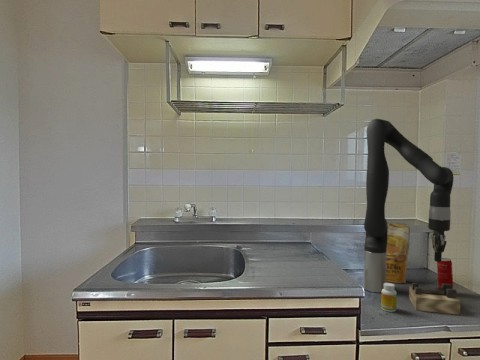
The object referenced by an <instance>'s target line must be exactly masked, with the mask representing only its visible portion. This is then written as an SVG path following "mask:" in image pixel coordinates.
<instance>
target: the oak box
mask: <svg viewBox="0 0 480 360" xmlns="http://www.w3.org/2000/svg"><path fill="white" fill-rule="evenodd" d="M415 286H419V283H418V282H412V284H411V285H409V286H408V290H409V291H408V298H409V300H410V302H411V304H412V306H413V308H414V309H415V311H421V312H432V313H441V314H449V315H450V314H452V315H461V300H460V299H459V298H458V297H457V290H456V288H453V289H451V284H443V283H442V288H449V289H447V290H446V294H434V293H421V290H422V289H421V288H417V287H415ZM414 287H415V288H414Z"/></svg>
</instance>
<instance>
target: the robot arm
mask: <svg viewBox="0 0 480 360" xmlns="http://www.w3.org/2000/svg"><path fill="white" fill-rule="evenodd" d="M366 141H367V142H366V145H367V159H366V160H367V161H366V177H365V178H366V184H365V185H366V187H365V189H366V191H365V192H366V210H365V218H364V223H363V224H364V225H363V228H364V231H365V241H364V246H363V247H364V250H363V251H364V255H363V256H364V257H363V278H362V279H363V281H362V283H363V285H362V286H363V287H362V288H363V290H364V289H365V290H364V291H368V292H372V293H382V289H384V287H383V286H384V283H387V282H386V250H387V232H388V224H387V222H388V221H387V219H386V216H385V215H386V214H385V212H386V211H385V208H386V207H385V206H386V202H387V201H386V199H387V197H388V192H389V184H390V183H389V181H390V169H389V164H388V161H387V158H386V154H385V144H387V145H389V146H391V147H392V148H394V149H395V150H396V151H397V152H398V154H400V156H401V157H402V158H403V160H405V161H406V162H407V163H408V164H410V165H411V166H413V167H414V168H415V169H416V170H418V171H419V172H420V174H422V175H423V177H424V178H425V179H426V180H427V181H429V183H431V184H433V191H431V193H430V195H429V196H430V197H429V209H428V222H427V223H428V226H427V228H428V229H429V230H431V231H432V232H433V233H432V234H431V236H430V237H431V244H432V249H433V252H434V253H433V254H434V255H433V256H434V257H433V258H434V262H436V263H437V262H441V258H443V257H442V255H443V253H444V252H445V248H446V245H447V241H446V235H445V232H449V231H451V194H452V190H453V185H454V173H453V171H452V169H450V168H449V167H447V166H446V167H445V166H440V164H438V163H437V162H435V161H434V159H433V157H432V156H431V155H429V154H428V153H427V152H425V151H424V150H423V149H421V148H419V146H417V145H415V144H414V143H413V142H411V141H410V140H409V139H407V138H406V137H405V136H404V135H403V134H402V133H401V132H400V131H399V130H398V129H397V128H396V127H395V125H393V124H392V122H390V121H389V120H385V119H382V118H381V119H380V118H375V119H371V120H370V121H369V122H368V124H367V127H366Z"/></svg>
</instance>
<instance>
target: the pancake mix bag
mask: <svg viewBox="0 0 480 360" xmlns="http://www.w3.org/2000/svg"><path fill="white" fill-rule="evenodd" d="M387 224H388V232H387V250H386V283H391V284H397V285H398V284H399V285H400V284H406V273H407V265H408V260H409V259H408V258H409V249H410V233H411V231H410V226H409V225H408V224H406V223H400V222H399V223H398V222H388V221H387Z"/></svg>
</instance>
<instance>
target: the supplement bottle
mask: <svg viewBox="0 0 480 360" xmlns="http://www.w3.org/2000/svg"><path fill="white" fill-rule="evenodd" d="M383 287H384V289H382V292H380V293H381V300H380V301H381V303H380V308H381V309H382V310H383V311H384V312H389V313H394V312H396V311H397V296H398V295H397V294H398V293H397V291H396V289H395V288H396V285H395V283H390V282H386V283H384V286H383Z"/></svg>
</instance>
